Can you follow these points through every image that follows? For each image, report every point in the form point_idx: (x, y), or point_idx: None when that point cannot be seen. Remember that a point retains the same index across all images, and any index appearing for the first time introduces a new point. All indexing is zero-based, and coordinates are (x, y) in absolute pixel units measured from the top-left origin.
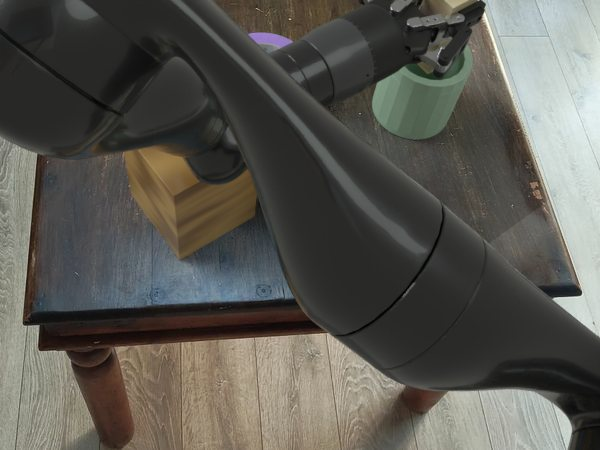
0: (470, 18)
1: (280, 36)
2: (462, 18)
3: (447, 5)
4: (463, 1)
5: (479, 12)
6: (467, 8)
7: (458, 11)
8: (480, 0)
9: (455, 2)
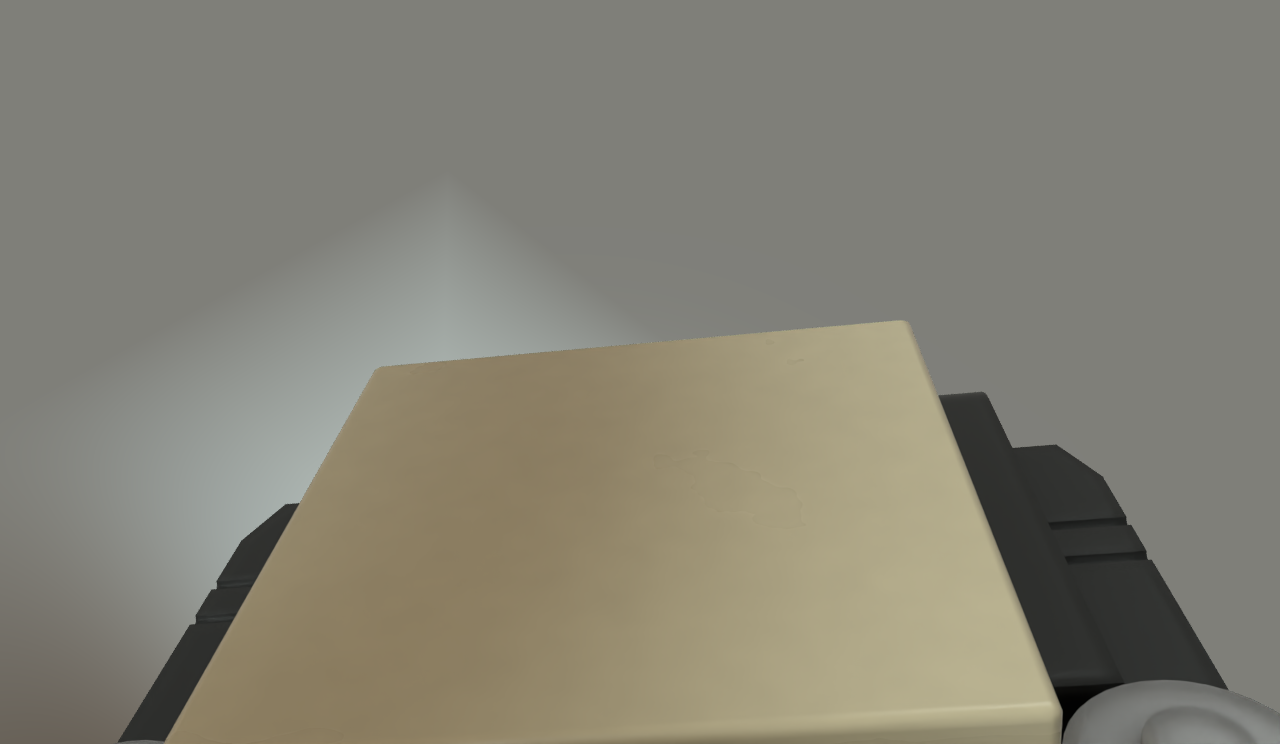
0: (1178, 641)
1: None
2: (1259, 735)
3: None
4: (954, 496)
5: (1083, 503)
6: None
7: None
8: None
9: (916, 601)
